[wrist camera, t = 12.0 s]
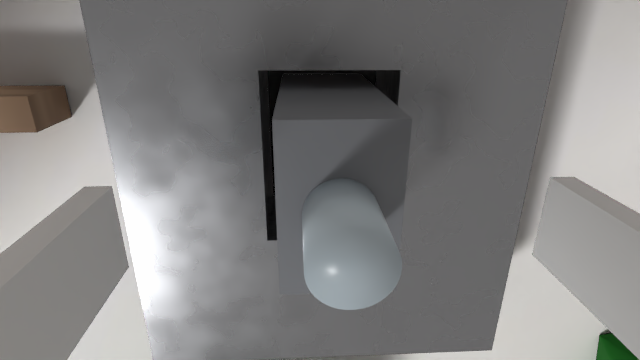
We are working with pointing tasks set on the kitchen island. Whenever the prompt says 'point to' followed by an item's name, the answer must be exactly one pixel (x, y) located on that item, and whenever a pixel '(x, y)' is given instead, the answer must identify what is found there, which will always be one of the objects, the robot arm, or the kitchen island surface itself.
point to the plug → (339, 188)
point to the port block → (256, 165)
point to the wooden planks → (32, 108)
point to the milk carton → (613, 349)
